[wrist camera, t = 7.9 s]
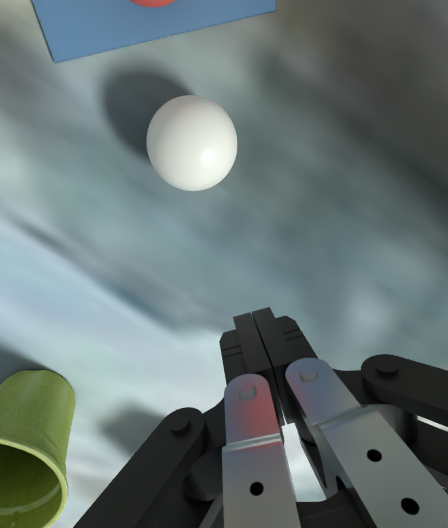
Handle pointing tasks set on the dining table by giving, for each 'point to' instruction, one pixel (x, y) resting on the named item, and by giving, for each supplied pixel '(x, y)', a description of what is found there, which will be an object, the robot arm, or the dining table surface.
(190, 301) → the dining table surface
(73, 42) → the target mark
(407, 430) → the robot arm
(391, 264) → the dining table surface
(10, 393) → the plant pot
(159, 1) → the red ball
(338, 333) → the dining table surface
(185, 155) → the cue ball
